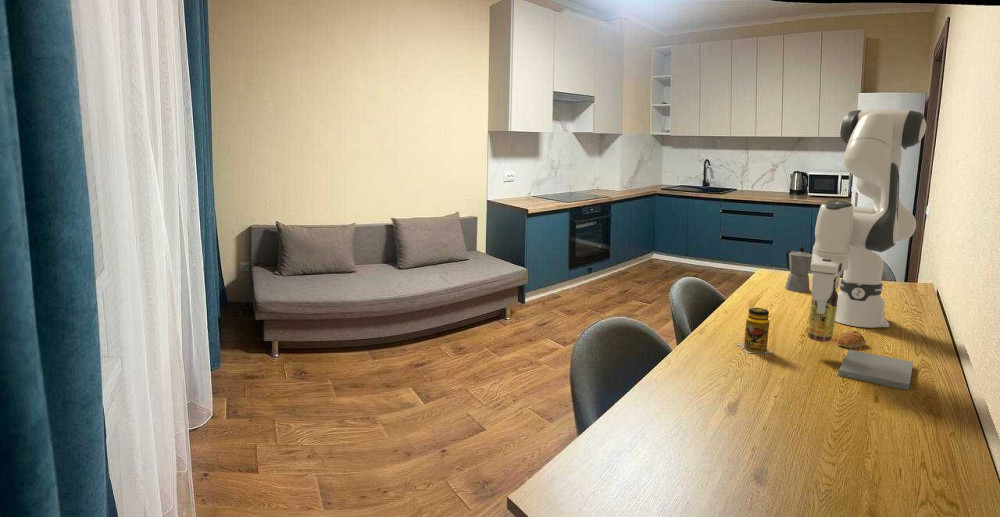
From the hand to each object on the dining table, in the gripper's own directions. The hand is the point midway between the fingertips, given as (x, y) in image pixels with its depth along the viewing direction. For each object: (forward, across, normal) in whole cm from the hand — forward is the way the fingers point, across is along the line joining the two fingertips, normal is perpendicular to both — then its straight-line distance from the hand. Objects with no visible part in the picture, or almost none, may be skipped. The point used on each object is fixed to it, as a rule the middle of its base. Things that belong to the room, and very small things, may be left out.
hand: (823, 310), depth 163 cm
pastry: (+14, -18, +6) cm, 24 cm away
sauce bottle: (+9, 0, 0) cm, 9 cm away
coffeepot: (+15, -87, -22) cm, 91 cm away
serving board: (+13, +3, +14) cm, 20 cm away
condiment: (+14, +5, -16) cm, 21 cm away
